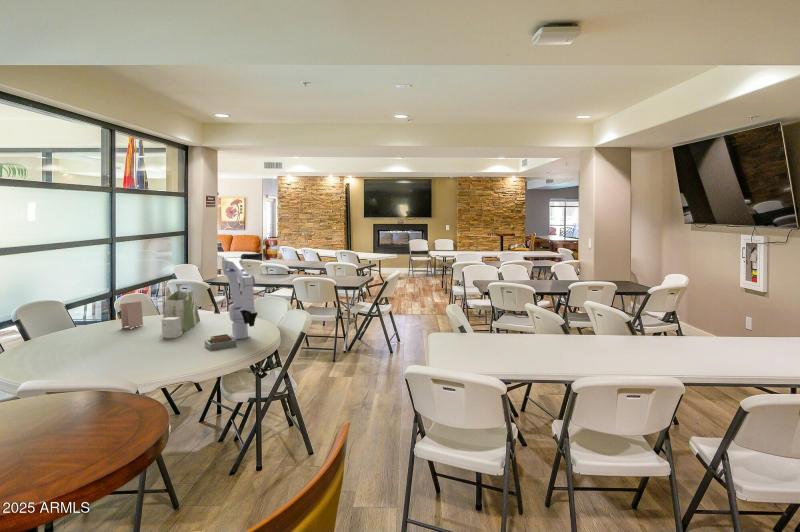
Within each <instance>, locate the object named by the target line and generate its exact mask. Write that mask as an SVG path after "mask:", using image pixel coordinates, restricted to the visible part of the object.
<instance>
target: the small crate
mask: <svg viewBox="0 0 800 532" xmlns="http://www.w3.org/2000/svg"><path fill="white" fill-rule="evenodd" d="M230 336H231V335H229V334H227V333H225V334H218V335H212V336H210V339H211V344H212V343H219V342H225V341H230Z"/></svg>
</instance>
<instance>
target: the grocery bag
mask: <svg viewBox="0 0 800 532" xmlns="http://www.w3.org/2000/svg"><path fill="white" fill-rule="evenodd" d="M195 295H196V294H195V291H191V289H188V290H187V291H186V292H185V291H181V290H176V291H175V288H173V289H171V291H170V293H169V296H168V298H166V299H165V303H164V308H163V316H162V317H163V318H162V319H164V318H167V317H180V321H181V332H186V333H188V332H189V331H190V330H191V328H192V329H193V328H195V327H196V326H195V325H197V324H198V323H200V322H201V319H200V315H199V311H198V307H197V303H196V298H195V297H196V296H195ZM196 323H197V324H196ZM194 326H195V327H194ZM189 329H190V330H189ZM188 330H189V331H188Z"/></svg>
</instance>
